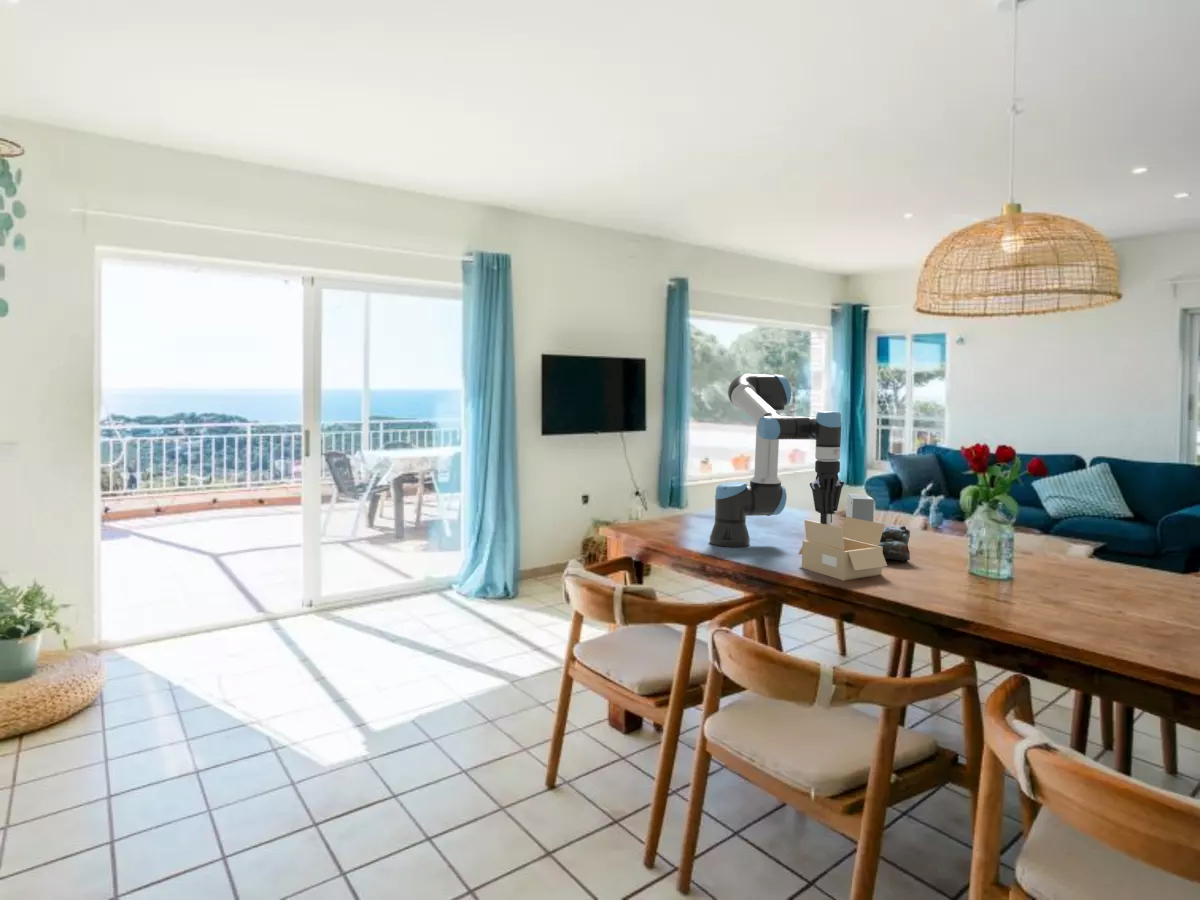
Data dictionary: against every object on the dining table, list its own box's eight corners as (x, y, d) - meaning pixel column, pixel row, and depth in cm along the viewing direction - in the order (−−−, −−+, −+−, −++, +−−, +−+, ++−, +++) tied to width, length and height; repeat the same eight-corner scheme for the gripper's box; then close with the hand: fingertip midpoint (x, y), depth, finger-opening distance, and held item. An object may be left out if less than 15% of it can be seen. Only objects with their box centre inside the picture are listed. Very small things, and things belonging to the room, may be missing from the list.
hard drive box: (872, 554, 255) (874, 499, 254) (850, 552, 257) (852, 498, 255) (865, 545, 270) (867, 493, 269) (844, 544, 272) (846, 492, 270)
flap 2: (877, 545, 225) (878, 545, 225) (884, 524, 226) (884, 524, 226) (839, 536, 239) (840, 536, 239) (845, 516, 240) (846, 516, 240)
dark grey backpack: (858, 558, 248) (862, 521, 253) (882, 568, 253) (885, 532, 258) (894, 554, 235) (898, 515, 240) (918, 565, 240) (921, 527, 245)
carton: (794, 565, 236) (795, 538, 235) (831, 560, 244) (832, 534, 243) (851, 583, 215) (852, 554, 214) (890, 577, 222) (891, 549, 222)
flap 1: (807, 539, 232) (806, 540, 232) (805, 519, 231) (804, 519, 231) (844, 549, 218) (843, 549, 218) (842, 527, 217) (841, 528, 217)
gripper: (821, 462, 217) (819, 537, 219) (851, 460, 223) (849, 533, 225) (804, 460, 223) (802, 533, 225) (833, 458, 229) (831, 530, 231)
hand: (825, 533), depth 225 cm, fingers closed
